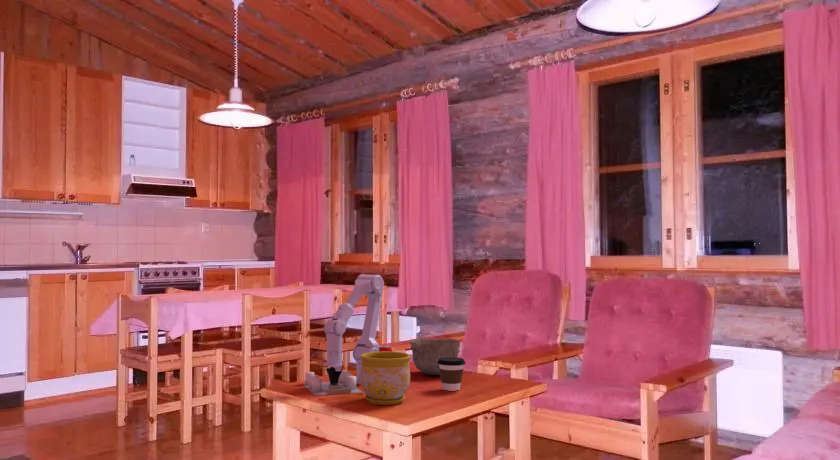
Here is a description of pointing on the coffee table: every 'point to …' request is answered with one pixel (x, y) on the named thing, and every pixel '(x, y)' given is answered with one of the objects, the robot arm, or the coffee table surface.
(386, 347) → the beverage can
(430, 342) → the bowl
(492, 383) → the coffee table surface
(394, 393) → the flowerpot
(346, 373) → the spacer board
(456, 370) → the coffee cup
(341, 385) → the hexagonal block with ball
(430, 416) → the coffee table surface
